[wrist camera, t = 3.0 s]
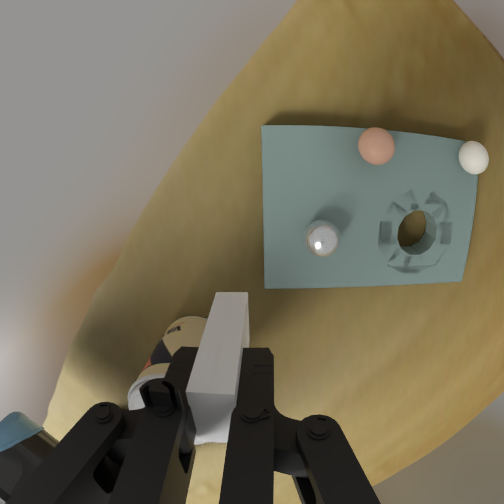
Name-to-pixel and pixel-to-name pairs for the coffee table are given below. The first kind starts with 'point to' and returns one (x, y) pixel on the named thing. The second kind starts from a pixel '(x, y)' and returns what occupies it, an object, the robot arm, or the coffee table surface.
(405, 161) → the board
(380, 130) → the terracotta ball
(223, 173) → the coffee table surface
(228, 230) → the coffee table surface
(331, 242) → the steel ball
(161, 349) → the coffee cup
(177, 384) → the robot arm
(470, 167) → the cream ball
